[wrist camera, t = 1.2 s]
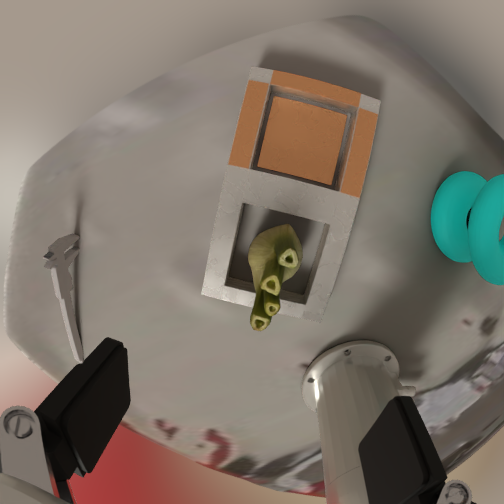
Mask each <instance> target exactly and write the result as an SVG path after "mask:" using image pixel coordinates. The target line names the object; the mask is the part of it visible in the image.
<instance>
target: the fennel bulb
mask: <svg viewBox="0 0 504 504" xmlns="http://www.w3.org/2000/svg"><path fill="white" fill-rule="evenodd" d="M302 258H303V253H302V246H301V243H300V241H299V239H298V236H297V235H296V233H295V231H294V229H293V228H292V227H291V226H290V225H289V224H284V225H279V226H276V227H273V228H270V229H268V230H266V231H264V232H262V233H260V234H259V235H257V236H256V238H255V239H254V240H253V241H252V243H251V245H250V248H249V252H248V262H249V264H250V266H251V270H252V275H253V282H254V287H255V290H256V296H255V301H254V305H253V309H252V313H251V316H250V324H251V326H252V328H253V329H254V330H257V331H262V330H264V329H266V327H267V326H268V325H269V324H270V322H271V318H272V316H273V315H275V314H277V313H278V312H279V310H280V308H281V306H280V296H279V295H280V294H279V292H280V290H281V286H282V283H283V282H284V281H286V280H287V279H289V278H291V277H292V276H293V275H294V274H295V273H296V272H297V270H298V269H299V268H300V266H301V261H302Z"/></svg>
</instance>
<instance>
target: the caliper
mask: <svg viewBox="0 0 504 504" xmlns="http://www.w3.org/2000/svg"><path fill="white" fill-rule="evenodd" d="M78 239H79V236H78V235H75V234H70V235H67V236H64V237H62V238H59V239H58V240H56V241H55V242H54V243H53V244H52V245H51V246H49V247H48V251H49V252H48V253H47V254H46V255H44V256H43V258H44V259H46V260H47V262H46V264H45V265H44V267H45V268H47V269H51V274H52V279H53V284H54V289H55V294H56V297H57V298H59V302H60V306H61V311H62V315H63V319H64V323H65V327H66V331H67V335H68V338H69V342H70V345H71V348H72V352H73V355H74V358H75V360H77V361H78V362H80V363H83V361H84V360H83V349H82V345H81V341H80V337H79V333H78V329H77V325H76V320H75V316H74V311H73V306H72V300H71V295H70V291H71V290H72V289H73V284H72V277H71V275H70V273H69V271H68V267H69V266H70V264H71V263H72V262H73V260H74V259H75V257H76V256H77V255H78V253H79V248H76V247H73V248H71V249H69V250H68V251H67V252H66V253H65V254H64V251H65V250H66V249H68V248H69V247H70V246H71V245H72V244H73V243H75V242H76V241H77V240H78Z"/></svg>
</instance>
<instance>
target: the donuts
mask: <svg viewBox="0 0 504 504" xmlns="http://www.w3.org/2000/svg"><path fill="white" fill-rule="evenodd" d="M471 207H472V209H471V213H470V218H469V224H468V229H467V225H466V218H467V214H468V212H469V210H470V208H471ZM503 217H504V174H501V175H498V176H495V177H493V178H492V179H490V180H489V181H488V182H487V181H486V180H485V179H484V178H483V177H481V176H480V175H478V174H476V173H474V172H470V171H461V172H457V173H455V174H453V175H451V176H449V177H448V178H447V179H446V180H445V181H444V182H443V183H442V184H441V186H440V187H439V189H438V190H437V192H436V195H435V197H434V200H433V204H432V209H431V227H432V233H433V236H434V239H435V242H436V244H437V246H438V247H439V249H440V250H441V251H442V253H443V254H444V255H446V256H447V257H448V258H450V259H451V260H453V261H456V262H462V263H466V262H471V261H472V262H473V264H474V266H475V268H476V270H477V272H478V273H479V274H480V275H481V276H482V278H484V279H485V280H486V281H488V282H490V283H492V284H496V285H504V236H503V237H502V239H501V240H500V241H499V229H500V225H501V221H502V219H503Z"/></svg>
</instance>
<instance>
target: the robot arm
mask: <svg viewBox="0 0 504 504" xmlns="http://www.w3.org/2000/svg"><path fill="white" fill-rule="evenodd" d="M398 378H399V364H398V361H397V359H396V357H395V355H394V354H393V352H392V351H391V350H390V349H389V348H388V347H386V346H385V345H383V344H380V343H378V342H374V341H368V340H358V341H352V342H347V343H344V344H340V345H337V346H335V347H333V348H331V349H329V350H327V351H326V352H324V353H323V354H321V355H320V356H319V357H318V358H317V359H315V360H314V361H313V362H312V364H311V365H310V366H309V367H308V369H307V370H306V372H305V374H304V376H303V381H302V395H303V399H304V401H305V403H306V405H307V406H308V407H309V408H310V409H311V410H312V411H314V412H315V413H317V415H318V423H319V432H320V440H321V450H322V459H323V470H324V481H325V492H326V501H327V504H476V503H474V502H472V501H471V499H472V494H471V490H470V488H469V487H468V485H467V484H466V483H464V482H463V481H460V480H451V481H449V482H447V483H445V480H446V479H447V475H446V473H445V470H444V468H443V465H442V463H441V461H440V458H439V456H438V454H437V451H436V449H435V447H434V444H433V442H432V440H431V438H430V435H429V433H428V431H427V429H426V427H425V424H424V422H423V420H422V418H421V416H420V414H419V412H418V410H417V408H416V406H415V402H414V400H413V399H412V398H411V397H410V396H414V395H415V393H416V388H415V387H414V386H402V385H401V383H400V381H399V379H398ZM130 401H131V399H130V387H129V374H128V355H127V349H126V348H124V346H123V343H122V342H120V341H117V340H114V339H111V338H109V337H107V338H105V339H104V340H103V341H102V342H101V343H100V344H99V345H98V346H97V347H96V349H95V350H94V351H93V352H92V353H91V354H90V355H89V356H88V357H87V358H86V359H85V360H84V361H83V363H82V364H77V365H76V366H75V367H74V368H73V369H72V370H71V371H70V372H69V373H68V374H67V375H66V376H65V378H64V379H63V380H62V381H61V382H60V383H59V384H58V385H57V386H56V387H55V389H54V390H53V391H52V392H51V393H50V394H49V395H48V397H46V399H45V400H44V401H43V402H42V403H41V404H40V405H39V407H38V408H37V409H36V410H35V411H34V412H33V411H32V410H30V409H29V408H26V407H24V406H13V407H10V408H8V409H6V410H5V411H4V412H3V413H2V415H1V417H0V504H77V503H76V500H75V497H74V494H73V491H72V489H71V485H70V482H69V479H70V478H71V476H72V475H73V473H76V474H77V475H79V476H81V477H84V475H85V474H86V472H87V473H91V472H92V470H93V469H94V467H95V465H96V463H97V462H98V460H99V458H100V456H101V454H102V453H103V451H104V449H105V448H106V446H107V444H108V442H109V441H110V439H111V437H112V435H113V434H114V432H115V430H116V429H117V427H118V425H119V423H120V422H121V420H122V418H123V416H124V415H125V413H126V411H127V410H128V408H129V405H130Z"/></svg>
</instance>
